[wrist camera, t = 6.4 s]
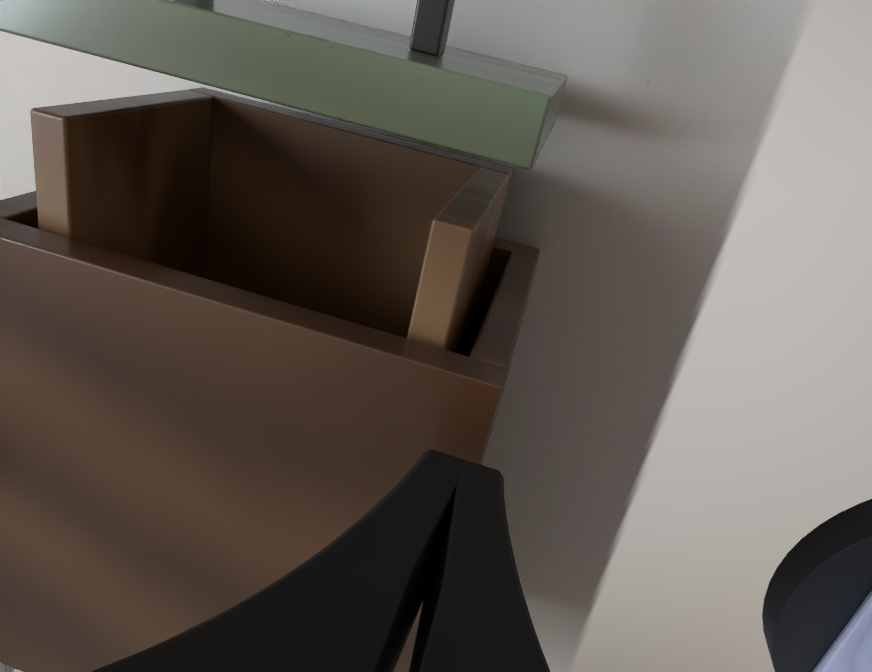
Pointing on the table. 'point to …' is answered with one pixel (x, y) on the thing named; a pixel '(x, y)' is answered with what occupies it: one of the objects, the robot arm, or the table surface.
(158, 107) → the drawer
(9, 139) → the table surface
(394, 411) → the cabinet
